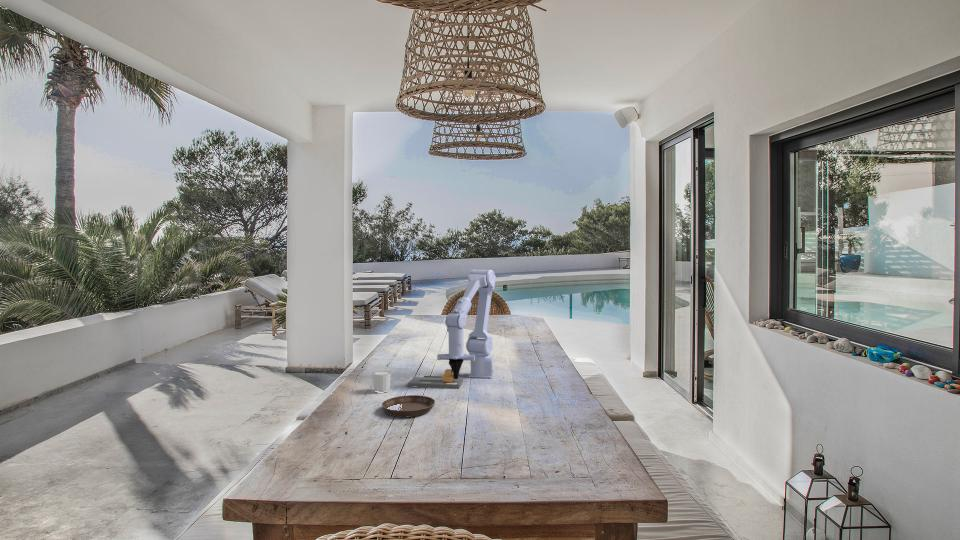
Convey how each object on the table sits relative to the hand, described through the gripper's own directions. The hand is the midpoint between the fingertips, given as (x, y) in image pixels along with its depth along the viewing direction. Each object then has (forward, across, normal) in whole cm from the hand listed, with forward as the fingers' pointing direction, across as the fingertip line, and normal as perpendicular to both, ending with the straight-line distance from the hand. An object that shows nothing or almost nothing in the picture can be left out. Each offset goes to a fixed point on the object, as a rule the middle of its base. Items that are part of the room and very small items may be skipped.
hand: (456, 378), depth 229 cm
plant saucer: (+3, -10, -34) cm, 36 cm away
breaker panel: (+3, -8, 0) cm, 9 cm away
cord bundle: (+3, -9, +9) cm, 13 cm away
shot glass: (+3, -26, -12) cm, 29 cm away
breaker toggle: (+1, -3, 0) cm, 3 cm away
